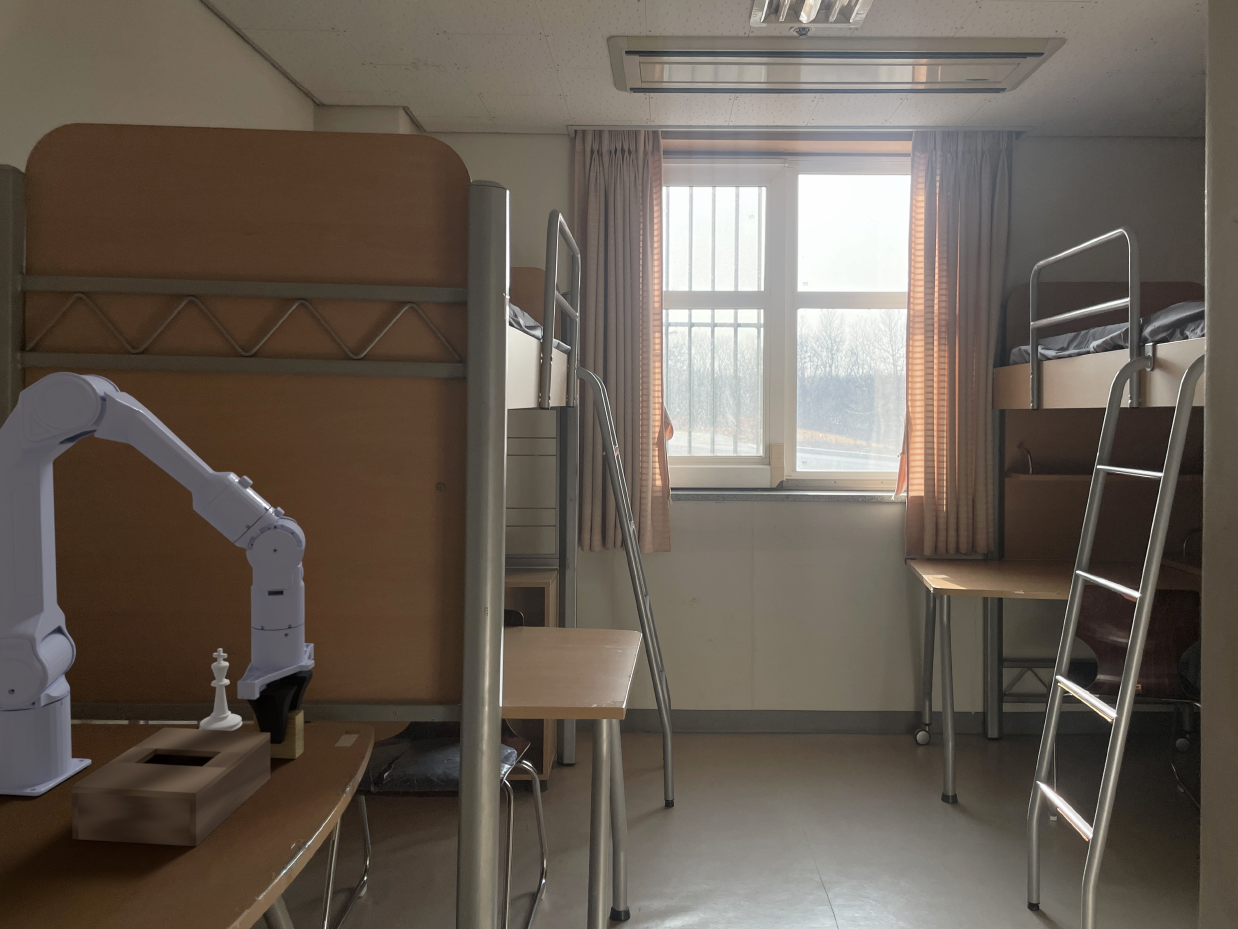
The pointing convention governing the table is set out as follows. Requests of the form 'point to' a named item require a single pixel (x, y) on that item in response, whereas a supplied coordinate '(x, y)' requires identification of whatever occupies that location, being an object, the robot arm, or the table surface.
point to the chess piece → (220, 699)
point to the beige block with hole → (171, 787)
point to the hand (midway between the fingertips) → (278, 738)
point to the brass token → (288, 737)
